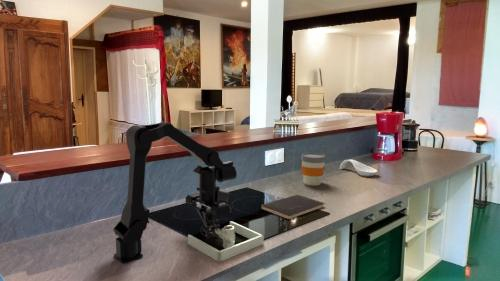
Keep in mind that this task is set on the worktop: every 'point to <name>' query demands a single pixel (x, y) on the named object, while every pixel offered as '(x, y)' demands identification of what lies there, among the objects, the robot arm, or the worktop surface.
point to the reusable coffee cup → (312, 168)
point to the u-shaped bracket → (224, 254)
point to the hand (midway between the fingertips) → (207, 227)
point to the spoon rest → (360, 168)
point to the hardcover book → (292, 206)
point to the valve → (221, 233)
